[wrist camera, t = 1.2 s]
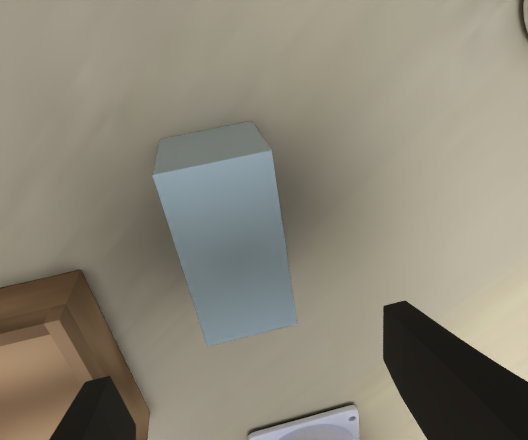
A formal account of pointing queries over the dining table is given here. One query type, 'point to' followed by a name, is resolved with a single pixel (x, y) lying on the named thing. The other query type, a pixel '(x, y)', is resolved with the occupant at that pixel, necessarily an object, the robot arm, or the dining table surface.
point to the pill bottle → (526, 13)
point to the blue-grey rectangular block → (227, 229)
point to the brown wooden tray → (56, 356)
